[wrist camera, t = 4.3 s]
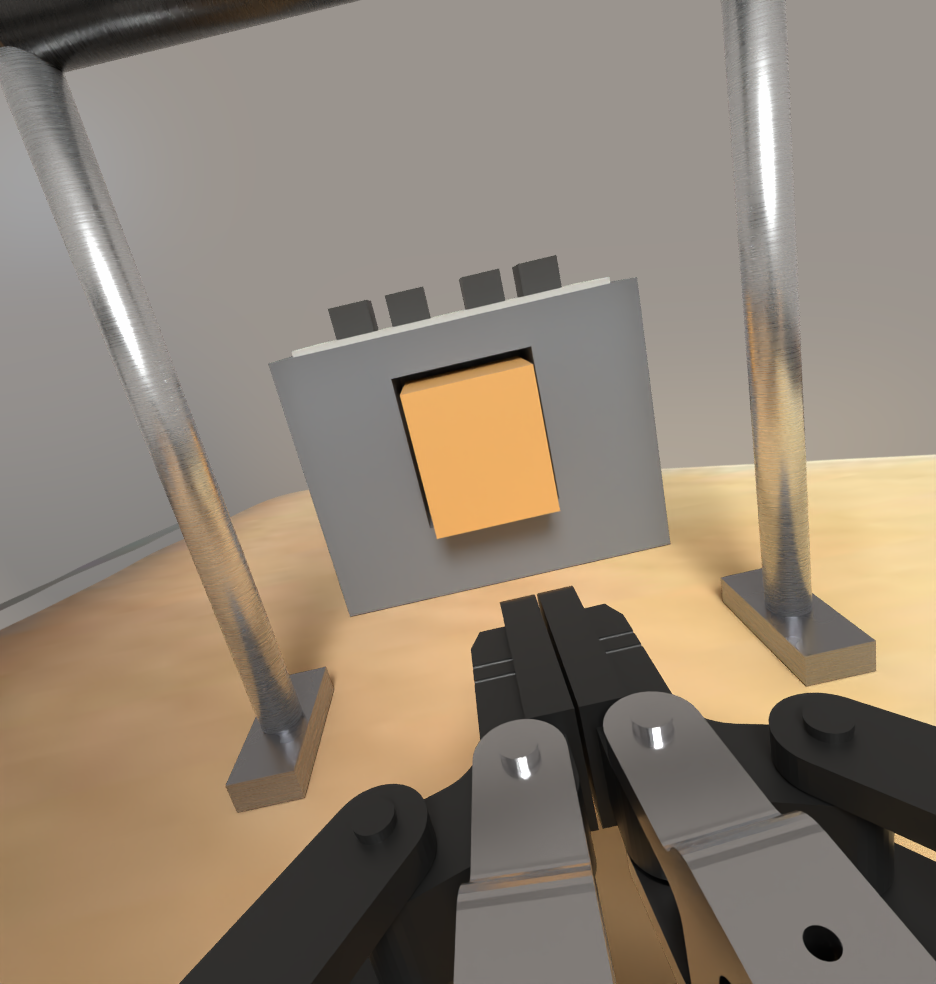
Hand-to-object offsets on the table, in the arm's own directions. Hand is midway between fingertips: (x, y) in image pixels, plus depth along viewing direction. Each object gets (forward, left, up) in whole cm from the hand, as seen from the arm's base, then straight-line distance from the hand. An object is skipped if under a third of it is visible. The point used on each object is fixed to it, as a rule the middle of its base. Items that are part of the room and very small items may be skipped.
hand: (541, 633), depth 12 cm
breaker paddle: (0, +18, -4) cm, 18 cm away
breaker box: (0, +22, -8) cm, 24 cm away
